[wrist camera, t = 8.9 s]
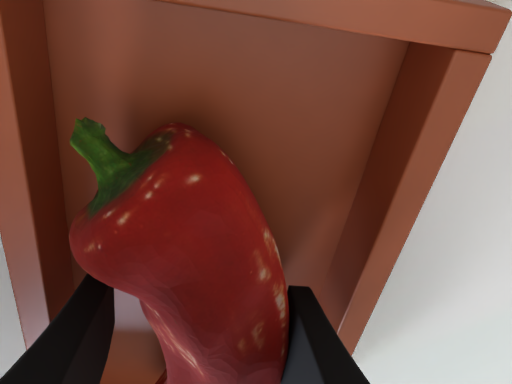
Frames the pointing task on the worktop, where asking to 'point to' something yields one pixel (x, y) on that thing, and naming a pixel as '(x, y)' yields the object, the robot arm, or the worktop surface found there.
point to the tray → (237, 131)
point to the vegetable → (186, 253)
